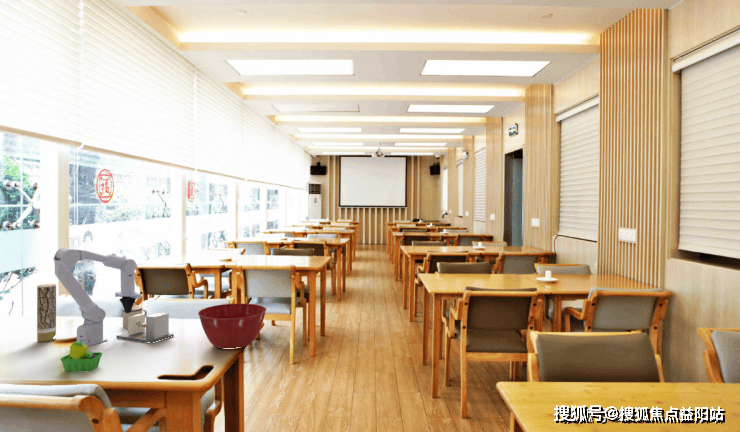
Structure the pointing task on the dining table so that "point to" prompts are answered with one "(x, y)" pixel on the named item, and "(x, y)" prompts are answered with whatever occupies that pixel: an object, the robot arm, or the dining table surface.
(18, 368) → the dining table surface
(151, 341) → the base plate
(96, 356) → the fruit basket
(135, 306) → the teacup with lid
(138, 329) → the collar
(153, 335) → the pipe stand
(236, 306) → the mixing bowl
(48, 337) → the paper tube
